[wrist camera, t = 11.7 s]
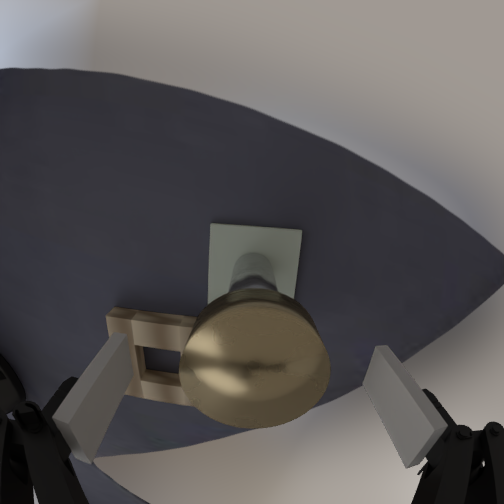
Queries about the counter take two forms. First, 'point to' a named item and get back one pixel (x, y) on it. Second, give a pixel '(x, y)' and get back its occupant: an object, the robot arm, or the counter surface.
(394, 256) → the counter surface
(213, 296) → the rubber mat
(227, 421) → the steel peg
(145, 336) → the plate
